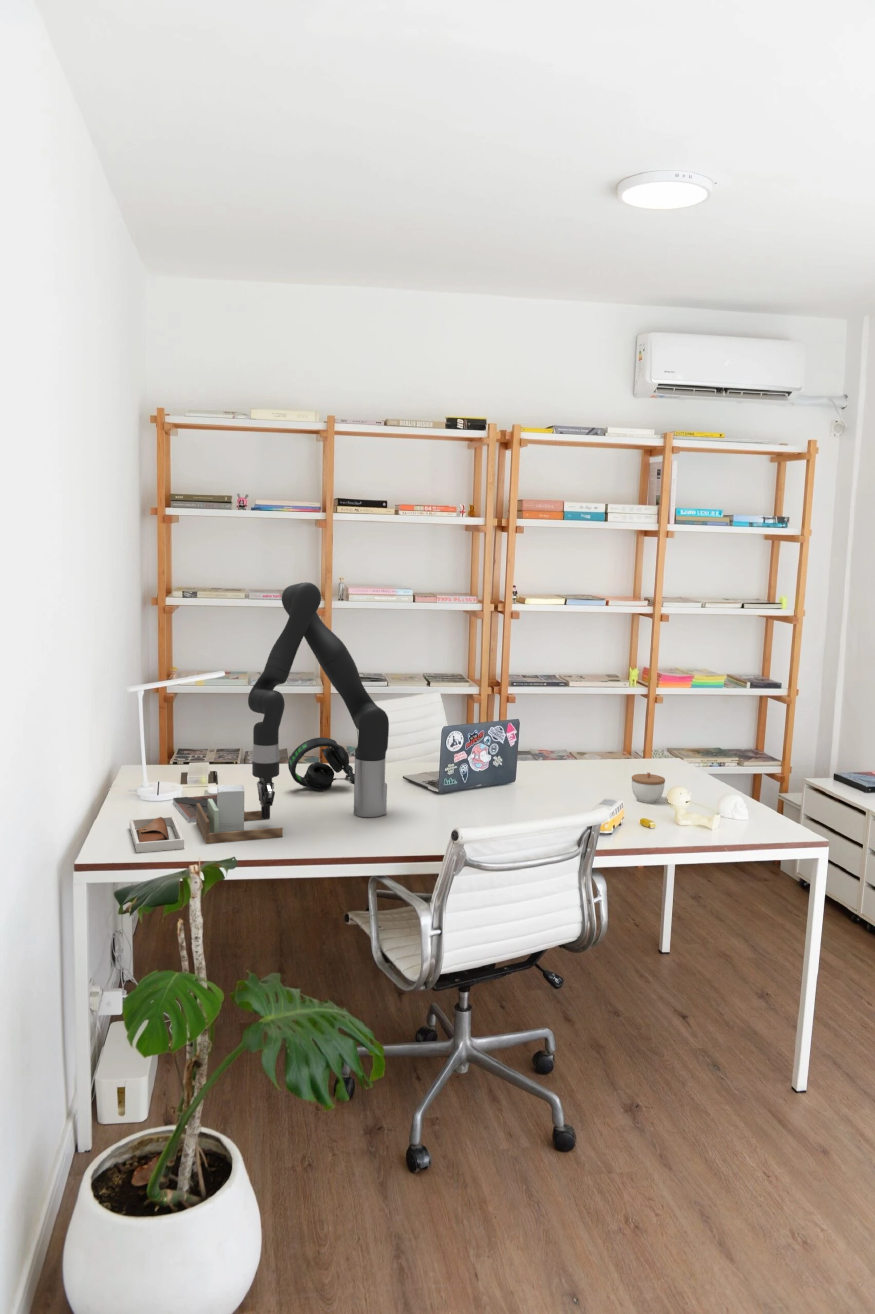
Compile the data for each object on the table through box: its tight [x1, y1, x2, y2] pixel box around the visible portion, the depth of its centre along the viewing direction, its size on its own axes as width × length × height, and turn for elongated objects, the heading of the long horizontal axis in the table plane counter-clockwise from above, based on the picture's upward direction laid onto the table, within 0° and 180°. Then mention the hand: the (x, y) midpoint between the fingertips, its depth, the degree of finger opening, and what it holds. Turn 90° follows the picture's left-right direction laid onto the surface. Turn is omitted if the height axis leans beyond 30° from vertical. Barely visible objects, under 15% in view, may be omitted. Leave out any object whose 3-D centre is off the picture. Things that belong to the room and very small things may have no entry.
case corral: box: [129, 815, 185, 854], centre depth 262 cm, size 12×22×2 cm, turn 22°
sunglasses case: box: [136, 816, 170, 842], centre depth 262 cm, size 18×7×7 cm, turn 19°
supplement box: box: [216, 784, 245, 833], centre depth 270 cm, size 7×7×13 cm
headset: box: [287, 736, 355, 792], centre depth 320 cm, size 18×14×29 cm
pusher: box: [208, 799, 219, 833], centre depth 269 cm, size 1×12×8 cm, turn 22°
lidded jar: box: [631, 772, 666, 804], centre depth 318 cm, size 11×11×9 cm
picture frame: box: [172, 794, 246, 824], centre depth 291 cm, size 16×2×22 cm
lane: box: [195, 803, 284, 844], centre depth 272 cm, size 21×19×6 cm
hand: (265, 818), depth 274 cm, fingers closed
